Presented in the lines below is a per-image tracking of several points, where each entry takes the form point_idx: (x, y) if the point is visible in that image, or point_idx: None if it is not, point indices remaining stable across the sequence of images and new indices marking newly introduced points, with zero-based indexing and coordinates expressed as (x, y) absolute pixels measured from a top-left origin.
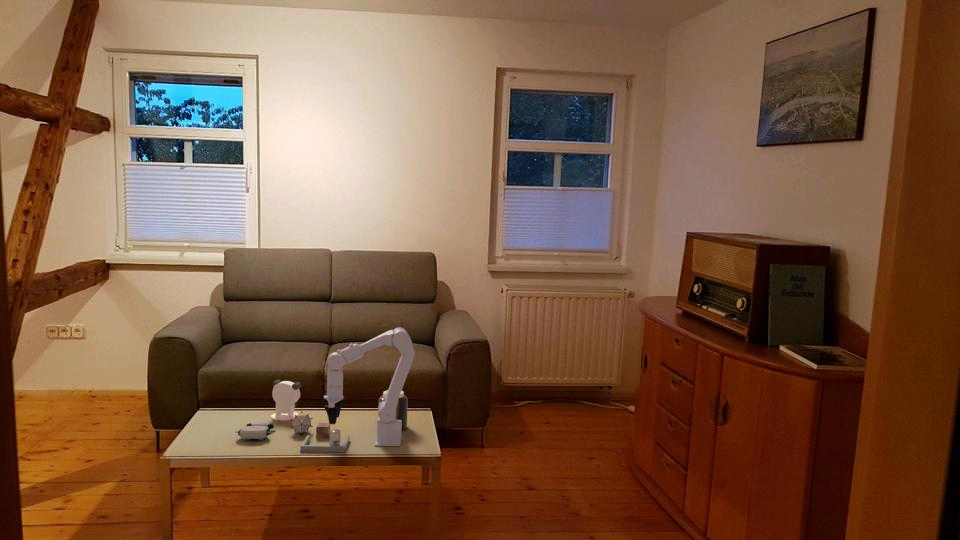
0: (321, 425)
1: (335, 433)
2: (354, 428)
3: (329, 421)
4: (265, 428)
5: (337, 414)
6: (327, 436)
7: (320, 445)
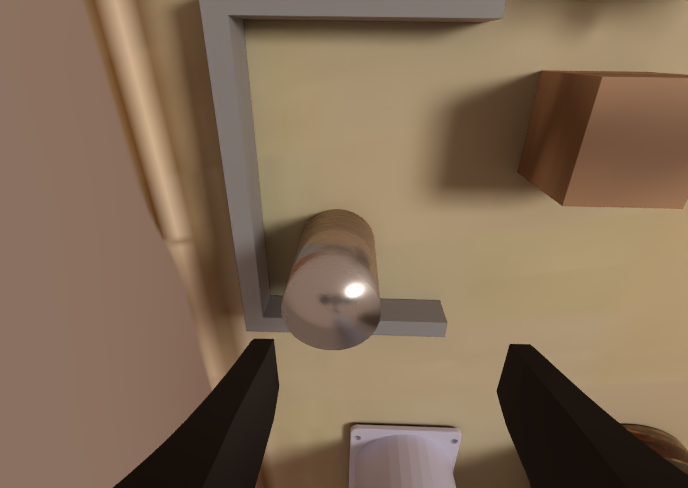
0: (632, 130)
1: (284, 319)
2: (674, 317)
3: (236, 364)
4: None
5: (514, 413)
6: (523, 172)
7: (243, 173)
